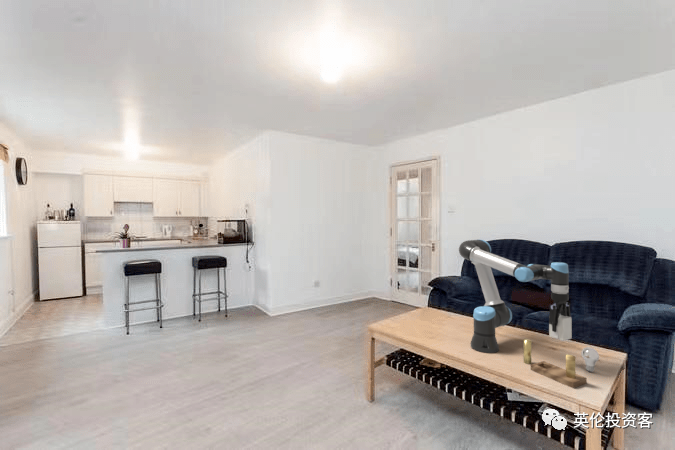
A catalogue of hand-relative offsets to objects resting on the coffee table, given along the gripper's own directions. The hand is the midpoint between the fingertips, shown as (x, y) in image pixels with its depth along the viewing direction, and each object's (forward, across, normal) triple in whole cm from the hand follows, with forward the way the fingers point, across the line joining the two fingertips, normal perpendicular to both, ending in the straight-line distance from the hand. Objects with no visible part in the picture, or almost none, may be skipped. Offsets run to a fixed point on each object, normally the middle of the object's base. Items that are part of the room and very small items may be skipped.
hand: (560, 336), depth 170 cm
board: (+14, -15, -8) cm, 22 cm away
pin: (+14, -14, +8) cm, 22 cm away
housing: (+1, 0, 0) cm, 1 cm away
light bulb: (+15, +4, -12) cm, 19 cm away
